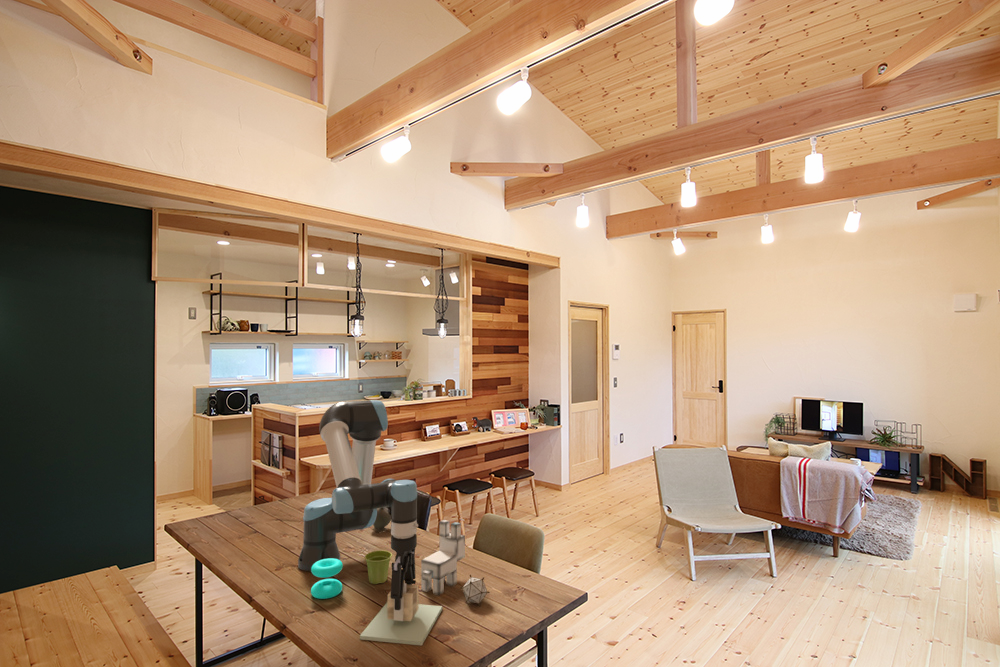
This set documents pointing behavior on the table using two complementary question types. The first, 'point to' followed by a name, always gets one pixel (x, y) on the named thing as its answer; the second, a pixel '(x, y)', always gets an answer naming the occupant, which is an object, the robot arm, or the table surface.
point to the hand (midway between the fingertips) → (403, 613)
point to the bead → (406, 603)
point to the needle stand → (402, 626)
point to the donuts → (326, 586)
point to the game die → (474, 590)
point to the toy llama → (443, 559)
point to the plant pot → (378, 565)
